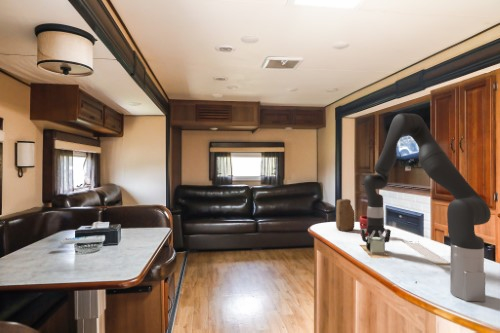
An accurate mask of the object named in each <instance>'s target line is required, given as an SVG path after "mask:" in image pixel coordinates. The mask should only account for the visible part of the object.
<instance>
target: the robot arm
mask: <svg viewBox="0 0 500 333" xmlns="http://www.w3.org/2000/svg"><path fill="white" fill-rule="evenodd" d="M403 136H408V137H410V138H412V139H413V140H414V142H415V143H416V145H417V148H418V160H419V163H420V166H421V167H422V169H423V170H424V172H425V173H426V175H427V176H428V177H429V178H430V179H431V180H432V181H433V182H435V183H436V184H437V185H439V186H441V187H442V188H443V189H445V190H446V191H448V193H450V194H451V196H453V198H454V199H453V200H452V201H450V202H449V204H448V205H447V210H446V217H447V218H446V219H447V234H448V237H449V238H450V263H451V265H449V268H450V273H449V274H450V275H449V276H450V279H449V280H450V282H449V283H450V285H449V287H450V288H449V289H450V290H449V291H450V294H451V295H453V296H454V297H455V298H459V299H462V300H463V301H465V302H486V273H485V270H484V269H485V240H484V238H482V237H480V236H479V235H477V234H476V230H475V226H481V225H484V224H487V223H488V222H489V221H490V219H491V217H492V216H491V210H490V207H489V205H488V204H487V202H486V201H485V199H483V198H482V197H481V195H480V194H478V193H477V191H476V190H475V189H474V188H473V187H472V186H471V185H470V183H468V181H466V179H465V177H464V176H463V174H462V173H461V172H460V171H459V170H458V169H457V167H456V165H455V164H454V163H453V161H452V160H451V159H450V157H449V156H448V155H447V153H446V152H445V151H444V150H443V148H442V147H441V146H440V144H439V143H438V141H437V140H436V138H434V136H433V135H432V133H431V130H430V129H429V127H428V126H427V124H426V121H424V119H423V117H421V115H418V114H416V113H406V112H405V113H402V112H401V113H398V114H396V115H395V116H394V117H393V119H392V121H391V123H390V126H389V129H388V133H387V136H386V139H385V142H384V145H383V146H384V147H383V148H382V151H381V154H380V155H379V157H378V158H377V159H378V160H376V163H375V164H374V171H375V172H376V174H368V175H366V176H365V177H364V179H363V187H364V192H365V194H366V197H367V208H366V216H367V228H366V229H359V230H360V233H361V235H360V236H361V239H362V241H363V242H364V243H365V245H366V248H367V249H368V251H370V240H371V239H372V238H373V237H379V238H380V239H381V240H383V241H384V250H385V248H386V243H389V242H390V238H391V232H392V230H390V229H389V228H385V210H384V196H383V195H382V194H379V193H378V192H377V190H382V189H384V188H385V187H386V186H387V185H388V182H389V177H390V173H391V171H392V170H393V167H394V165H395V164H396V162H397V156H398V154H397V147H398V143H399V141H400V139H401V138H402V137H403ZM366 231H367V232H368V233H369V234H368V236H367V237H365V233H366ZM383 234H385V236H383ZM371 236H372V237H371Z"/></svg>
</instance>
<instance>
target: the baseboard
mask: <svg viewBox="0 0 500 333" xmlns="http://www.w3.org/2000/svg"><path fill="white" fill-rule="evenodd" d="M417 242H418V243H417ZM417 242H414V243H413V242H404V244H405V245H406V246H408V247H409V248H411V249H412V250H413V251H415V252H417V253H418V254H419V255H421V256H423V257H424V258H426V259H427V260H428V261H430V262H432V263H433V264H435V265H436V266H450V265H451V261H450V262H449V260H447V259H445V258H443V257H441V256H440V255H439V254H437V253H436V252H434V251H432V250H431V249H429V248H428V247H425V246H424V245H423V244H420V243H419V241H417Z"/></svg>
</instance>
